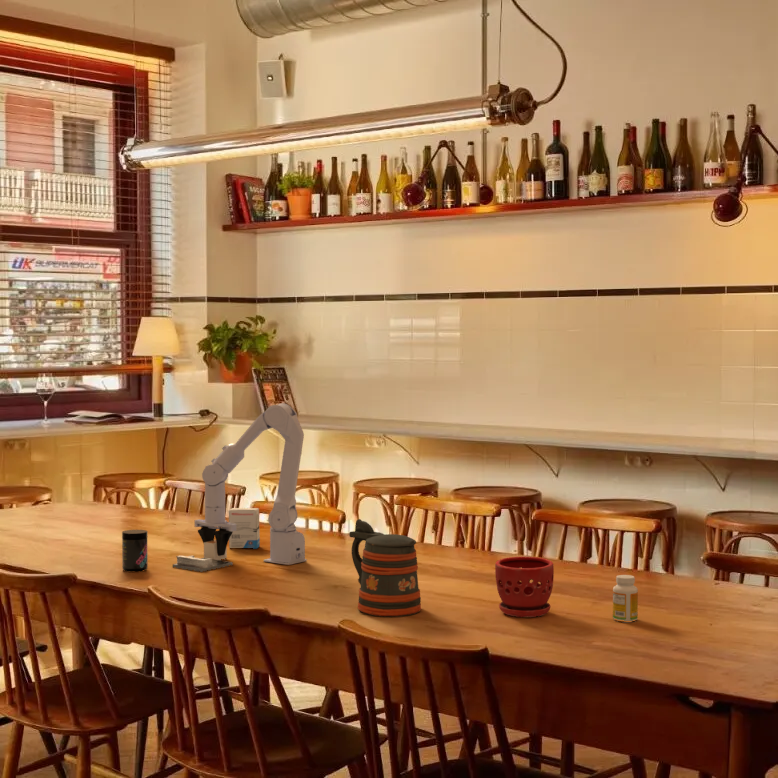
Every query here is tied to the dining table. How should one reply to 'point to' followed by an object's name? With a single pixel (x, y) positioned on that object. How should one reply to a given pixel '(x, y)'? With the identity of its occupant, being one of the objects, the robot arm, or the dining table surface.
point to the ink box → (245, 528)
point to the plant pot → (524, 585)
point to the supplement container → (134, 550)
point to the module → (213, 551)
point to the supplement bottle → (625, 598)
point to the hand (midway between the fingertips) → (215, 554)
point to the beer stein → (386, 572)
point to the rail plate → (199, 563)
